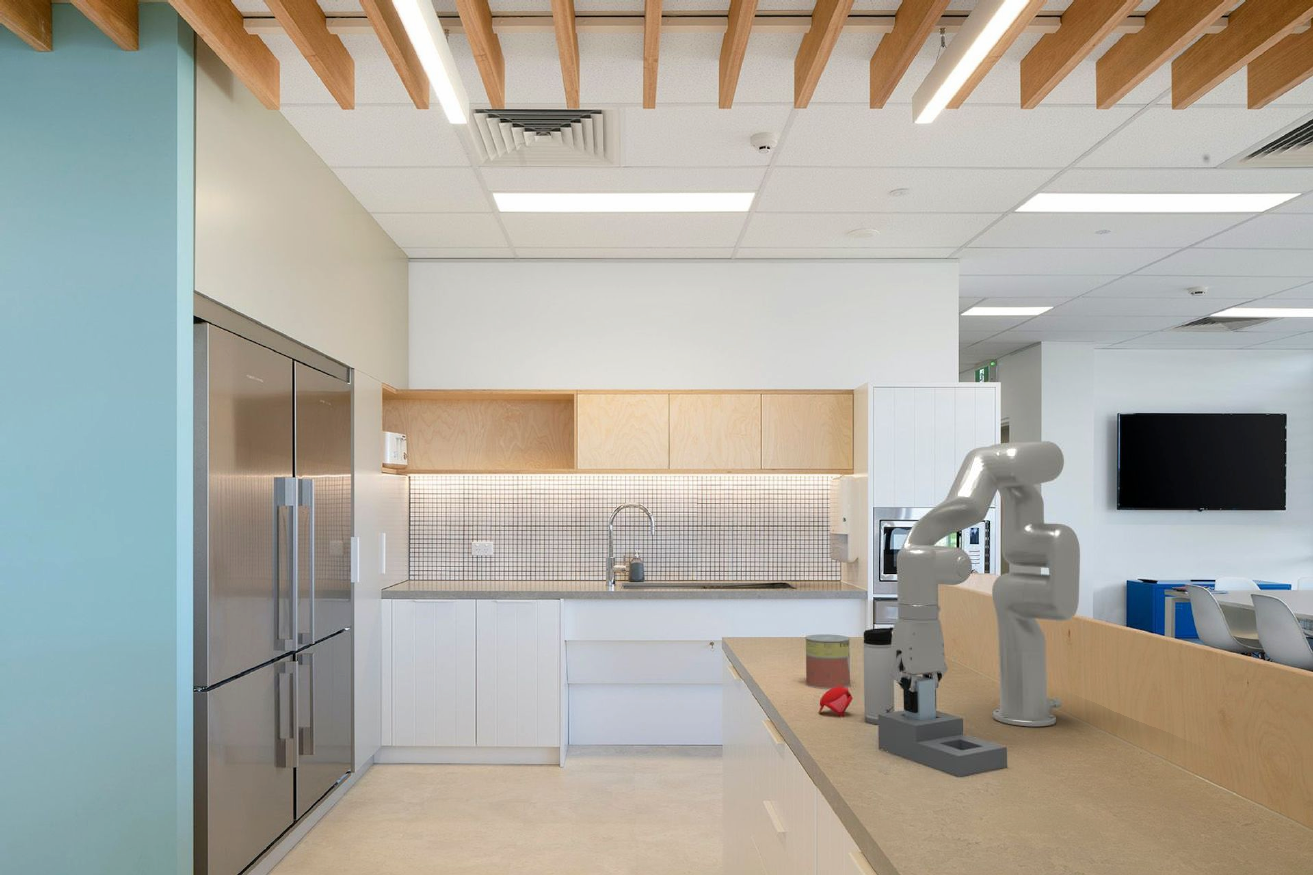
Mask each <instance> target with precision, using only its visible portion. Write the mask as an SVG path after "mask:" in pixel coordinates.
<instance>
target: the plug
mask: <svg viewBox="0 0 1313 875" xmlns="http://www.w3.org/2000/svg"><path fill="white" fill-rule="evenodd" d="M909 680H910V677H908V681H909ZM915 691H917V693H918V712H917V713H912V712H909V711H905V717H909V718H912V719H915V720H919V721H922V720H929V719H935V718H936V711H937V705H936V706H935V680H934V679H930V678H926V677H923V676H920V675H917V678H916V686H915Z"/></svg>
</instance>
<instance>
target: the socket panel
mask: <svg viewBox="0 0 1313 875" xmlns="http://www.w3.org/2000/svg"><path fill="white" fill-rule="evenodd" d="M877 727H878V728H877V731H878V732H877V733H878V734H877V736H878V749H879V750H881V749H883V750H885V751H884V752H886V751H888V752H887V753H889V752H890V753H889V754H892V753H894V754H893V755H895V754H896V755H895V756H898V755H900V756H899V757H901V756H902V757H901V758H903V757H904V759H906V758H907V760H910V761H912V760H913V761H912V762H916V763H918V764H921V765H923V764H924V765H923V766H926V767H929V768H933V769H935V770H937V771H941V772H943V773H946V774H949V775H952V776H954V777H955V776H956V777H958V778H961V777H965V776H969V775H975V774H979V773H986V772H989V771H995V770H1000V769H1004V768H1005V769H1006V768H1008V747H1007V746H1005V745H1001V744H999V743H994V742H990V741H987V740H984V739H981V738H978V737H974V736H971V735H967V734H965V733H964V717H962V716H961V717H960V716H956V715H952V714H950V713H945V712H942V711H939V710H936V718H935V719H929V720H922V721H919V720H915V719H912V718H909V717H905V710H904V709H903V710H897V711H894V712H890V713H883V714H878V725H877ZM883 750H882V751H883Z"/></svg>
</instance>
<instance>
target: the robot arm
mask: <svg viewBox="0 0 1313 875" xmlns="http://www.w3.org/2000/svg"><path fill="white" fill-rule="evenodd" d="M1064 465H1065V458H1064V454H1063V452H1062V449H1061V448H1060V446H1058V445H1057V444H1056V443H1055V442H1052V441H1049V440H1048V441H1046V440H1043V441H1022V442H1021V441H1020V442H1019V441H1018V442H1017V441H1016V442H1015V441H1014V442H1002V443H996V444H992V445H989V446H981V447H976V448H973V449H972V450H970V451H969V452H968V453H967V454H966V455H965V457H964V459H963V461H962V463H961V466H960V468H959V470H958V471H957V474H956V476H955V479H954V481H953V483H952V485H951V487H950V489H949V492H948V494H947V496H946V497H945V499H944V500H943V501H942V502H940V503H939V504H938V505H936V506H934V507H933V508H932V509H931V510H929V511H928V512H927V513H926V514H924V515H923V516H921V517H920V518H919V519H918V520H917V521H916V522H915V523H914V524H913V526H912V527H911V528H910V530H909V531H908V534H907V535H906V537H905V539H904V542H903V543H902V545H901V548H900V550H899V551H898V552H897V554H896V576H897V578H896V582H897V584H896V585H897V587H896V588H897V619H896V620H894V624H893V631H892V643H891V669H892V670H891V672H890V677H892V678H893V679H894V681H896V683H898V685H899V686H900V689H901V690H902V691H903V692H902V693H903V694H902V696H903V710H905V711H909V712H912V713H917V712H918V693H917V691H915V686H916V678H917V676H920V675H922V676H921V677H926V678H930V679H934V680H935V706H936V707H937V689H939V686H940V684H939V683H940V682H941V680H942V678H943V677H944V676H945V674H946V673H948V671H949V668H948V666H947V664H946V662H945V661H946V660H945V658H946V656H945V654H946V653H945V643H944V642H945V640H944V635H943V628H942V624H941V623H942V622H941V620H940V618H939V613H940V611H941V607H940V606H939V585H944V586H956V585H960V584H963V583H964V582H966V581H967V580H968V579H969V577H970V576H971V574H972V571H973V562H972V559H971V557H970V555H969V554H968V553H967V552H966V551H965V550H963V549H962V548H960V547H957V546H948V545H947V546H946V545H936V544H937V543H938V542H939V541H941V540H943V539H944V538H945V537H946V538H947V536H950V535H952V534H954V533H957V532H960V531H964V530H965V529H968V528H971V527H974V526H976V525H978V524H980V523H982V521H984V520H985V519H986V517H987V514H988V512H989V510H990V508H991V505H992V503H993V500H994V499H995V497H996V496H995V495H996V493H997V492H998V493H999V496H1000V498H1001V502H1002V503H1001V506H1002V516H1001V517H1002V520H1001V521H1002V523H1001V554H1002V558H1003V559H1004V561H1005V562H1007V563H1008V564H1009V565H1013V566H1018V567H1026V568H1044V569H1048V574H1043V573H1042V574H1041V573H1036V572H1035V573H1034V572H1019V571H1017V572H1016V571H1015V572H1014V571H1013V572H1005V573H1003V574H1001V575H999V576H998V577H996V579H995V580H994V581H993V584H992V591H991V592H992V593H991V595H992V596H991V597H992V600H993V605H994V610H995V614H996V621H997V632H998V633H997V634H998V671H999V672H998V677H999V708H998V709H996V710H993V712H992V718H993V719H994V720H996V721H998V722H1000V723H1004V724H1008V725H1013V726H1021V727H1022V726H1023V727H1048V726H1052V725H1055V723H1056V722H1057V720H1056V719H1057V718H1056V716H1055V715H1054V714H1053V713H1051V710H1053V709H1058V708H1060V707H1061V704H1062V702H1061V700H1060V699H1059V698H1052V699H1050V698H1049V697H1048V680H1047V679H1048V678H1047V677H1048V676H1047V646H1046V637H1045V634H1044V632H1043V629H1042V627H1041V626H1040V625H1039V623H1038V621H1037V619H1039V620H1048V621H1056V622H1058V621H1059V622H1060V621H1061V622H1063V621H1064V622H1065V621H1068V620H1071V619H1073V617H1074V616H1075V615H1076V613H1077V611H1078V607H1079V602H1080V576H1081V575H1080V572H1081V570H1080V569H1081V568H1080V567H1081V566H1080V564H1081V548H1080V543H1079V538H1078V535H1077V534H1076V533H1075V530H1073V529H1072V528H1071V527H1070V526H1069V525H1066V524H1062V523H1045V514H1044V513H1045V502H1044V498H1043V496H1042V495H1041V493H1040V491H1039V490H1038V488H1037V487H1036V485H1040V484H1043V483H1049V482H1051V481H1054V480H1056V479H1057V478H1058V477H1059V476H1060V475H1061V473H1062V471H1063V469H1064V467H1065V466H1064ZM908 677H910V680H909V681H908Z"/></svg>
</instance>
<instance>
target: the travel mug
mask: <svg viewBox="0 0 1313 875" xmlns="http://www.w3.org/2000/svg"><path fill="white" fill-rule="evenodd" d="M893 627H894V626H893ZM893 627H892V626H891V627H879V628H878V627H877V628H870V629H866V630H864V632H863V642H862V644H863V690H864V691H863V694H864V696H863V698H864V699H863V700H864V701H863V702H864V703H863V704H864V705H863V706H864V721H865V723H868V724H870V723H871V724H872V725H877V726H878V714H883V713H890V712H895V680H894V679H893V678H892V677H890V672H891V670H892V669H891V643H892V633H893Z"/></svg>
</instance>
